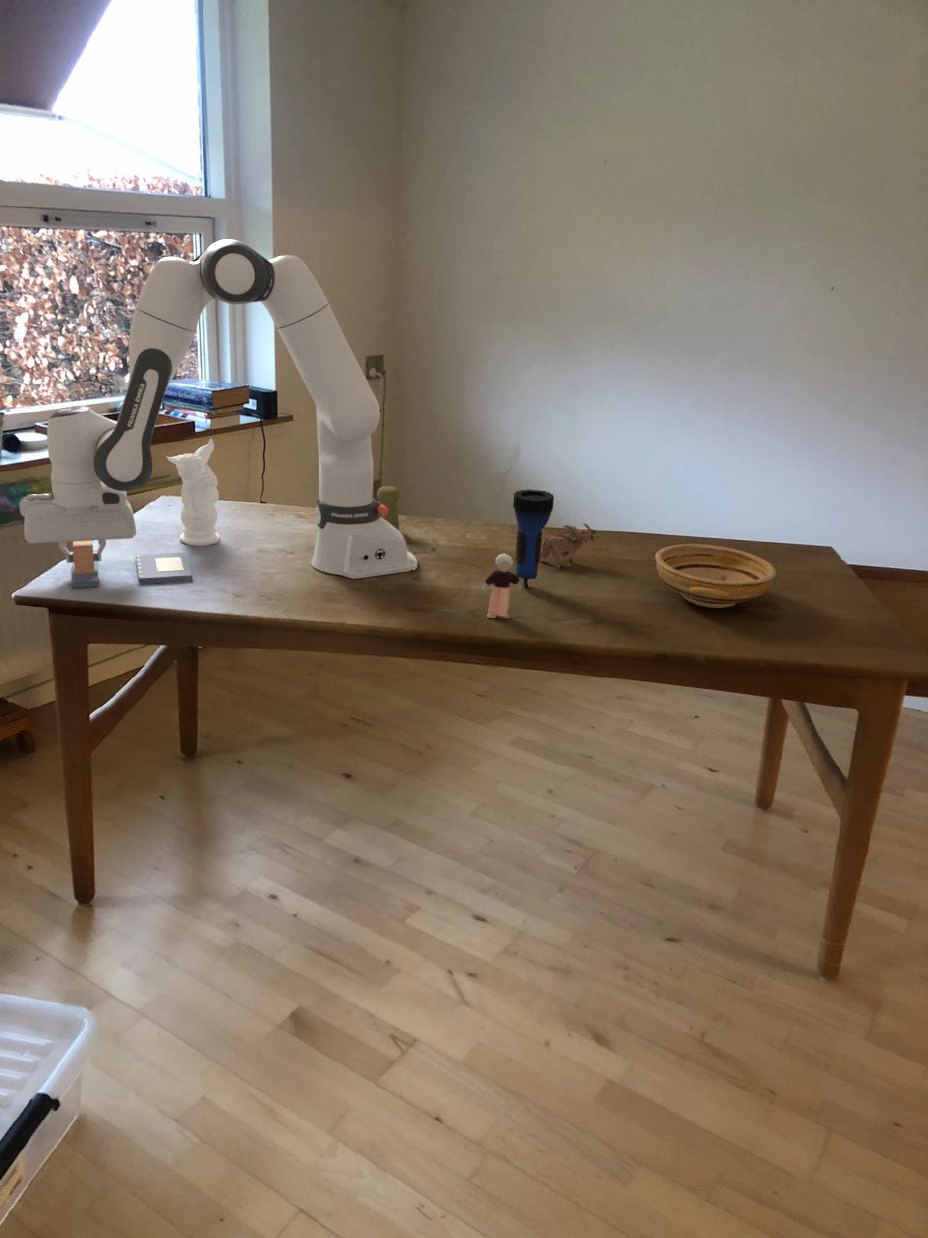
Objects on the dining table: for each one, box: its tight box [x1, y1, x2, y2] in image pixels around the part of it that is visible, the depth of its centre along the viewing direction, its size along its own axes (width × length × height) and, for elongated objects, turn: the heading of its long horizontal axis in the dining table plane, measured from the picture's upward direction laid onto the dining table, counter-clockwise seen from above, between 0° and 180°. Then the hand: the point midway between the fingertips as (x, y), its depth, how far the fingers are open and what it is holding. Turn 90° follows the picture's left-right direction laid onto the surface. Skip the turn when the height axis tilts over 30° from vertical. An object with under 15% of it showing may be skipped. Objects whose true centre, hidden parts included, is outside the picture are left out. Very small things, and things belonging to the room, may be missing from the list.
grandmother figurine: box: [480, 553, 522, 619], centre depth 180 cm, size 8×4×13 cm, turn 114°
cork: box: [376, 485, 400, 530], centre depth 224 cm, size 6×6×11 cm
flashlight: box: [512, 488, 555, 589], centre depth 193 cm, size 8×8×20 cm
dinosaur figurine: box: [539, 523, 597, 566], centre depth 211 cm, size 14×6×9 cm, turn 116°
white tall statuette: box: [166, 438, 221, 547], centre depth 210 cm, size 12×12×22 cm
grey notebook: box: [135, 552, 193, 585], centre depth 194 cm, size 10×14×1 cm
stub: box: [71, 540, 99, 589], centre depth 188 cm, size 5×14×6 cm, turn 20°
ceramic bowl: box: [654, 543, 777, 604], centre depth 197 cm, size 30×24×8 cm
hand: (84, 561), depth 188 cm, fingers closed on stub, 3 cm apart
